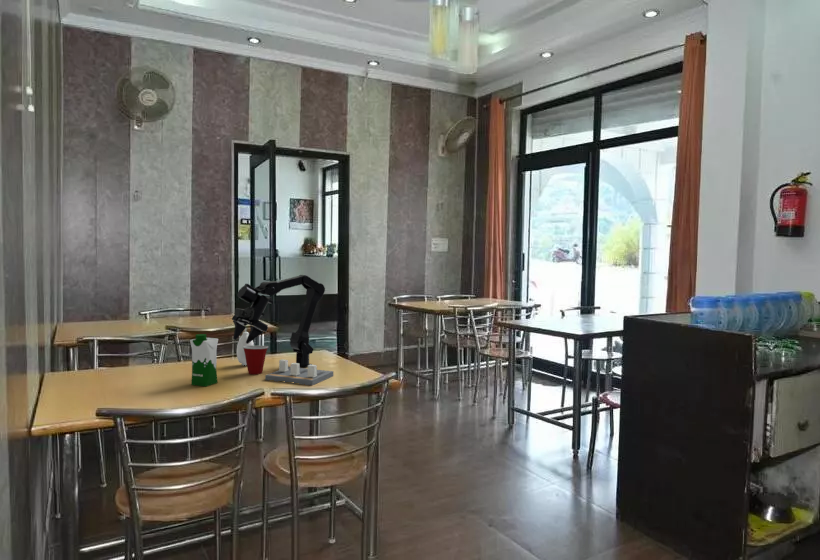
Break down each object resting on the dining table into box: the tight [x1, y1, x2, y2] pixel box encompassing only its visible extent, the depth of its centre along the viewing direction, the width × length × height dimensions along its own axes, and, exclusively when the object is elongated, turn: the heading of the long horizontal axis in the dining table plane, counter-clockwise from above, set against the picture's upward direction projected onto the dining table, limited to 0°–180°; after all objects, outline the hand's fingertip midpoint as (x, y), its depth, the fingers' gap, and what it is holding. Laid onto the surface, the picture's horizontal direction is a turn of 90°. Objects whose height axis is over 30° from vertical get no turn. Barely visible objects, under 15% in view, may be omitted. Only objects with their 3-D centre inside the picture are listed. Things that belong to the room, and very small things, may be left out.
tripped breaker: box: [278, 359, 289, 372], centre depth 239 cm, size 3×3×5 cm
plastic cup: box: [243, 344, 269, 375], centre depth 244 cm, size 11×11×12 cm
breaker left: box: [307, 364, 318, 378], centre depth 230 cm, size 3×3×5 cm
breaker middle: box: [290, 362, 301, 376], centre depth 233 cm, size 3×3×5 cm
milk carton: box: [189, 333, 219, 388], centre depth 223 cm, size 9×9×20 cm
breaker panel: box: [264, 366, 334, 386], centre depth 237 cm, size 18×22×2 cm
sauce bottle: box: [236, 327, 255, 367], centre depth 258 cm, size 8×8×18 cm
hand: (240, 341), depth 238 cm, fingers open, 9 cm apart
